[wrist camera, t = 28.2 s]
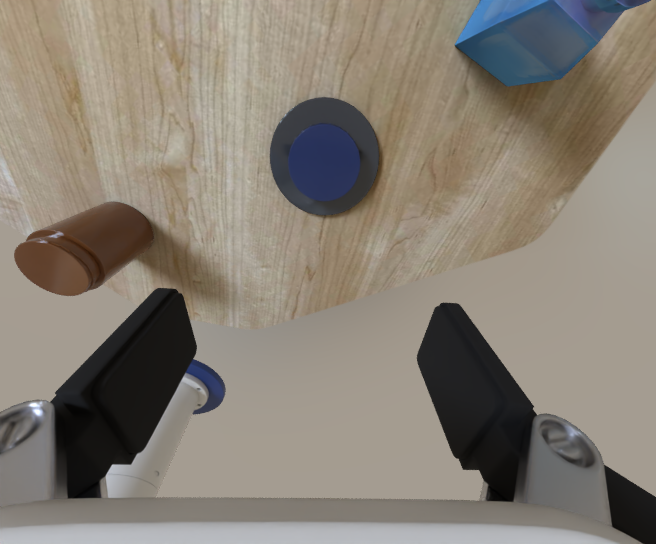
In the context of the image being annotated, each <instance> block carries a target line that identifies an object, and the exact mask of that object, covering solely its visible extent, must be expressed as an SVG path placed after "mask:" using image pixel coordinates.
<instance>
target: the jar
mask: <svg viewBox="0 0 656 544" xmlns="http://www.w3.org/2000/svg"><path fill="white" fill-rule="evenodd" d="M153 239H154V234H153V230H152V227H151V225H150V224H149V222H148V221H147V219H146V218H145V217H144V216H143V215H142V214H141V213H140V212H139V211H137V210H136V209H134V208H133V207H131V206H129V205H126V204H123V203H120V202H106V203H103V204H101V205H98V206H96V207H94V208H91V209H89V210H86V211H84V212H81V213H79V214H77V215H74V216H72V217H69V218H67V219H65V220H62V221H60V222H57V223H55V224H52V225H50V226H48V227H45V228H43V229H40V230H38V231H35V232H33V233H32V234H30V235H29V236H28V238H27V240H26V242H24V243H21V244H20V245H19V246H18V247H17V248H16V250H15V253H14V258H15V262H16V264H17V266H18V268H19V269H20V271H21V272H22V273H23V274H24V275H25V276H26V277H27V278H28V279H29V280H30V281H32V282H33V283H34V284H36V285H38V286H39V287H41V288H43V289H45V290H47V291H49V292H52V293H55V294H59V295H64V296H75V295H79V294H82V293H84V292H87V291H88V290H92V289H96V288H98V287H99V286H101V285H102V284H103V283H105V282H106V281H107V280H109V279H110V278H111V277H112V276H114V275H115V274H116V273H118V272H119V271H120V270H122V269H123V268H124V267H125V266H127V265H128V264H129V263H131V262H132V261H133V260H134V259H136V258H137V257H138V256H140V255H141V254H142V253H144V252H145V251H146V250H147V249H149V248H150V247H151V245H152V243H153Z"/></svg>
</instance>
